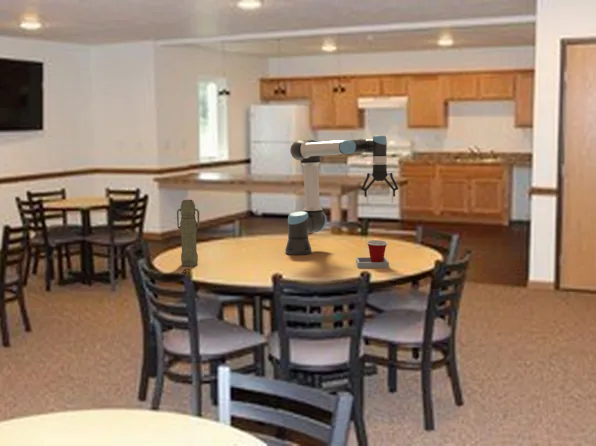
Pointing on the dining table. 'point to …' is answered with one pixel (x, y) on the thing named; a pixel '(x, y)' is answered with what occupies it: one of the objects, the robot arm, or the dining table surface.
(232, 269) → the dining table surface
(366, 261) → the tray
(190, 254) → the thermos
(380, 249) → the plastic cup
